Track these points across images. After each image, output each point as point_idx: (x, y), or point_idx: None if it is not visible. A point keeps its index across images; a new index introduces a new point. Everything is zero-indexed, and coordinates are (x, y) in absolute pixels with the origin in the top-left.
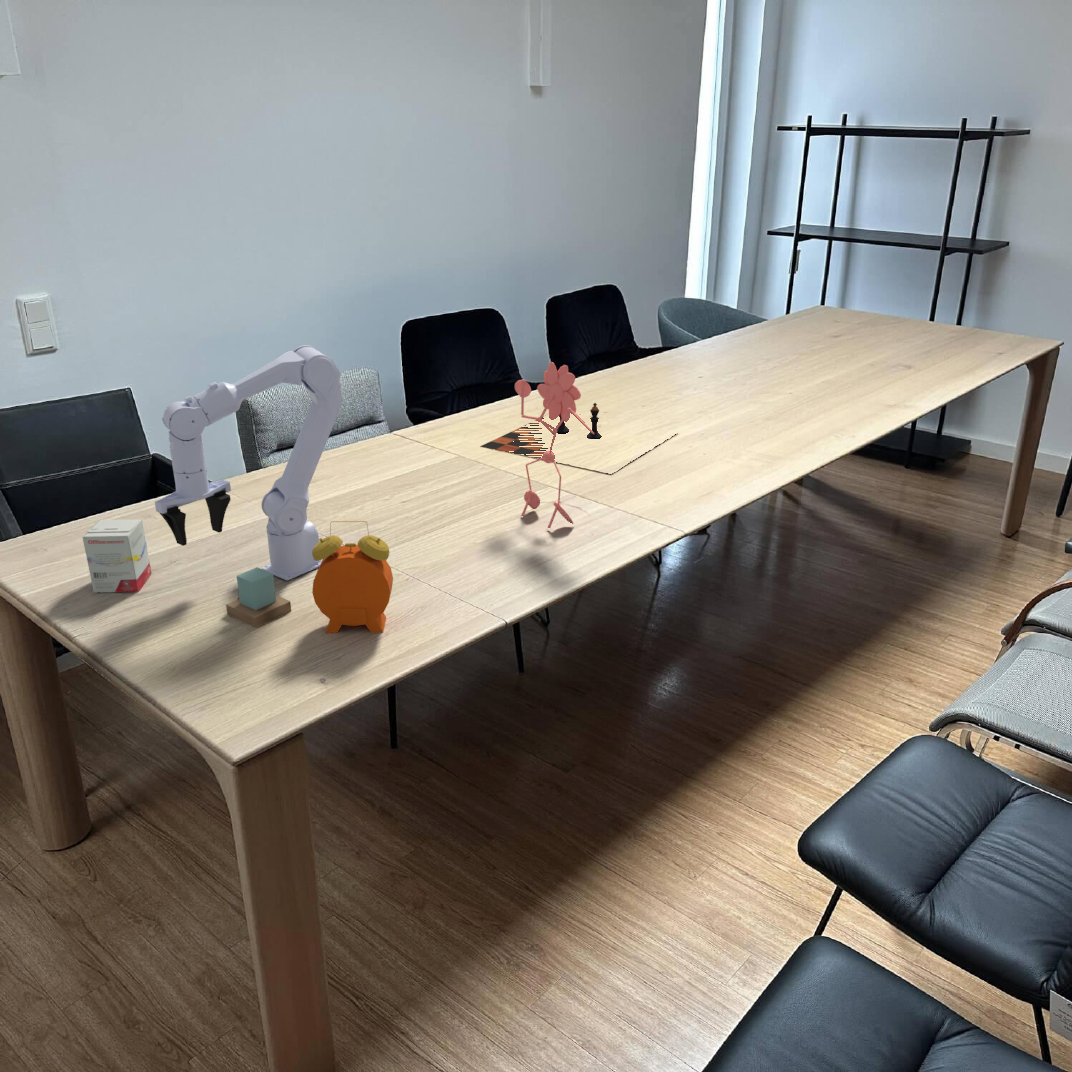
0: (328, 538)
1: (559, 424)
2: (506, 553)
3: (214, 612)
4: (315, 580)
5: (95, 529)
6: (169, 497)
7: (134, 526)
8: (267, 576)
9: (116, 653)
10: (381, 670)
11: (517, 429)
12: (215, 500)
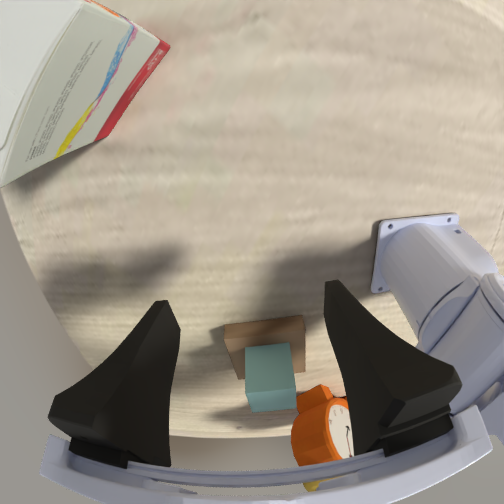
0: None
1: None
2: None
3: (209, 309)
4: (296, 456)
5: None
6: (100, 491)
7: (24, 93)
8: (284, 408)
9: (65, 314)
10: (282, 432)
11: None
12: (362, 439)
